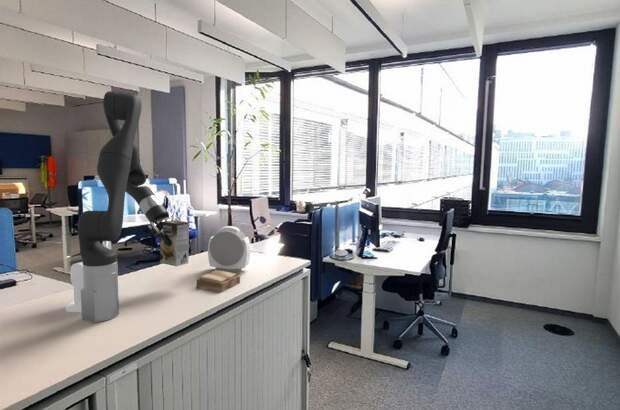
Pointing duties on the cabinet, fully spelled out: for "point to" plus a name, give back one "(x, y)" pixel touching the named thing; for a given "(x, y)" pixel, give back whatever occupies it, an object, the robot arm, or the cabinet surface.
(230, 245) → the alarm clock
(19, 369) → the cabinet surface
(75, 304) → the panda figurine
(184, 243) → the coffee box
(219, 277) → the brown flat block
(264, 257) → the cabinet surface
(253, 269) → the cabinet surface
